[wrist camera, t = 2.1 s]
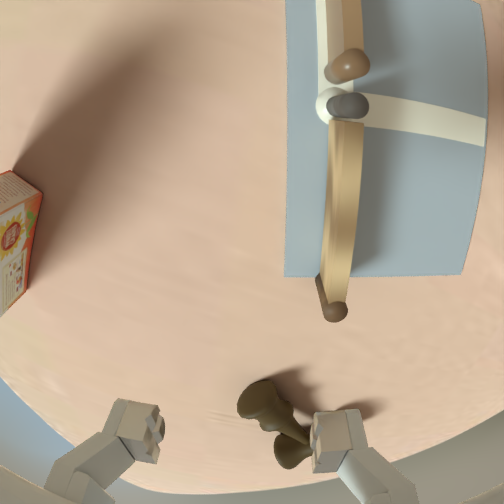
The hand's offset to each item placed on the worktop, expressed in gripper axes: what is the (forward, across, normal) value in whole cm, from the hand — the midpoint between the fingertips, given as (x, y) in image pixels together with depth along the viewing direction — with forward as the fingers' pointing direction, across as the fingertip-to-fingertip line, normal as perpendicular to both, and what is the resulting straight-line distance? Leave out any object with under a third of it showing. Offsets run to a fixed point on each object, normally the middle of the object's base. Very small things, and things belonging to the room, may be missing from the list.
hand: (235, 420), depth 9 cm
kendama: (+18, -6, +26) cm, 32 cm away
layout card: (+17, -12, -10) cm, 23 cm away
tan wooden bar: (+16, -6, -3) cm, 18 cm away
